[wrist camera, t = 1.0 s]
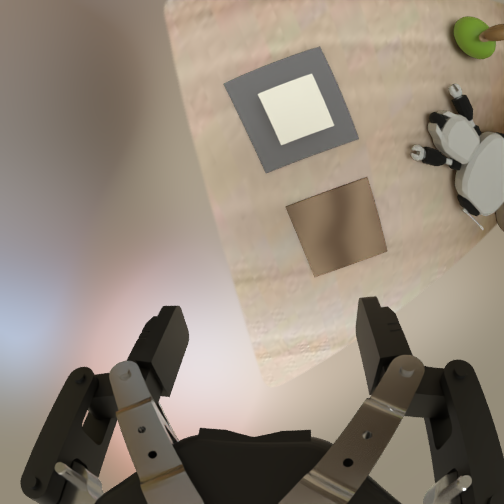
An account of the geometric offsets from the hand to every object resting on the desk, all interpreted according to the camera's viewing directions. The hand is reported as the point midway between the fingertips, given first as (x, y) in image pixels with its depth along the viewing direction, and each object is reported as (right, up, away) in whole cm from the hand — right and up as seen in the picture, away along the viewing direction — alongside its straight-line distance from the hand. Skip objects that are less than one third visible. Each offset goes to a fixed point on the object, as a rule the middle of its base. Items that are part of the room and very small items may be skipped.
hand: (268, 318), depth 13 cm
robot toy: (+25, +15, +15) cm, 33 cm away
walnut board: (+10, +6, +22) cm, 24 cm away
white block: (+4, +18, +15) cm, 24 cm away
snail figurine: (+25, +29, +8) cm, 39 cm away
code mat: (+4, +18, +16) cm, 24 cm away
